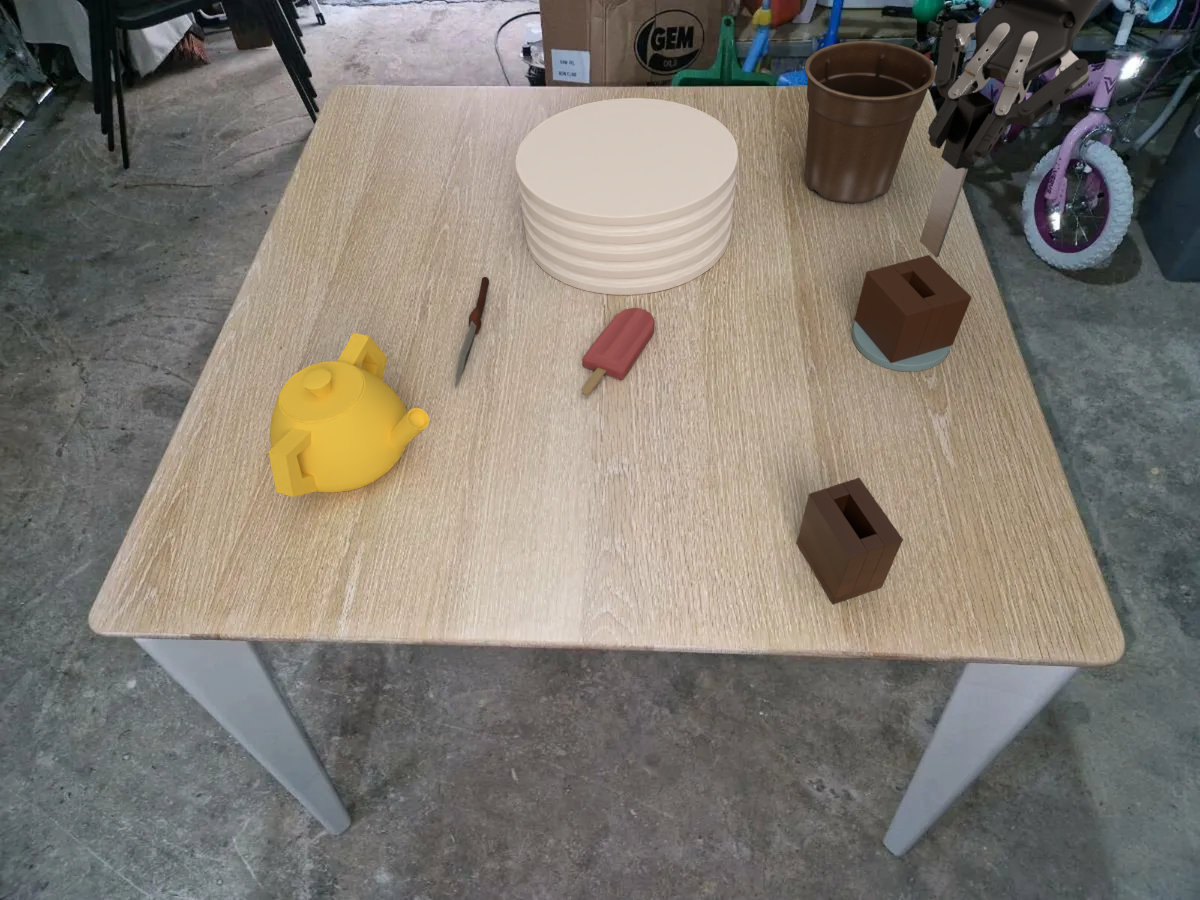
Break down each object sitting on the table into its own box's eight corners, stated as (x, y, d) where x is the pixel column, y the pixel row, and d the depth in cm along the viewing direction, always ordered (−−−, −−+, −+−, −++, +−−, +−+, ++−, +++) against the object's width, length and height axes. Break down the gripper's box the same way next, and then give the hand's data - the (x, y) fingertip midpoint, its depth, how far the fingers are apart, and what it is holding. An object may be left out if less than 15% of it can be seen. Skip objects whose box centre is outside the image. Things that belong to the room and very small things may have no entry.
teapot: (403, 545, 78) (373, 477, 69) (241, 509, 82) (194, 440, 73) (478, 400, 90) (460, 326, 81) (333, 374, 94) (302, 301, 85)
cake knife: (929, 238, 84) (976, 89, 71) (945, 255, 82) (997, 104, 70) (912, 243, 83) (957, 93, 71) (928, 259, 82) (978, 109, 69)
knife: (463, 396, 90) (458, 377, 88) (449, 395, 91) (444, 376, 88) (495, 291, 102) (491, 272, 100) (483, 291, 102) (479, 272, 100)
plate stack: (574, 321, 98) (566, 242, 89) (498, 205, 114) (485, 130, 105) (770, 255, 104) (781, 176, 95) (671, 155, 121) (673, 79, 112)
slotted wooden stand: (915, 298, 97) (932, 244, 91) (969, 356, 90) (993, 302, 84) (834, 321, 95) (847, 266, 89) (884, 382, 89) (901, 328, 82)
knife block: (842, 527, 77) (859, 477, 70) (881, 587, 72) (903, 539, 66) (795, 543, 76) (808, 493, 70) (832, 604, 71) (849, 557, 65)
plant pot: (783, 151, 120) (798, 40, 107) (892, 148, 119) (921, 36, 106) (795, 214, 109) (814, 99, 97) (915, 212, 108) (949, 96, 96)
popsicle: (562, 381, 89) (623, 302, 97) (563, 391, 90) (623, 311, 98) (604, 396, 87) (663, 314, 95) (605, 406, 88) (663, 324, 96)
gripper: (987, -82, 68) (875, 109, 73) (1155, -44, 62) (1020, 164, 66) (998, -33, 75) (894, 140, 79) (1152, 7, 68) (1028, 194, 72)
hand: (952, 150), depth 73 cm, fingers closed on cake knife, 3 cm apart
